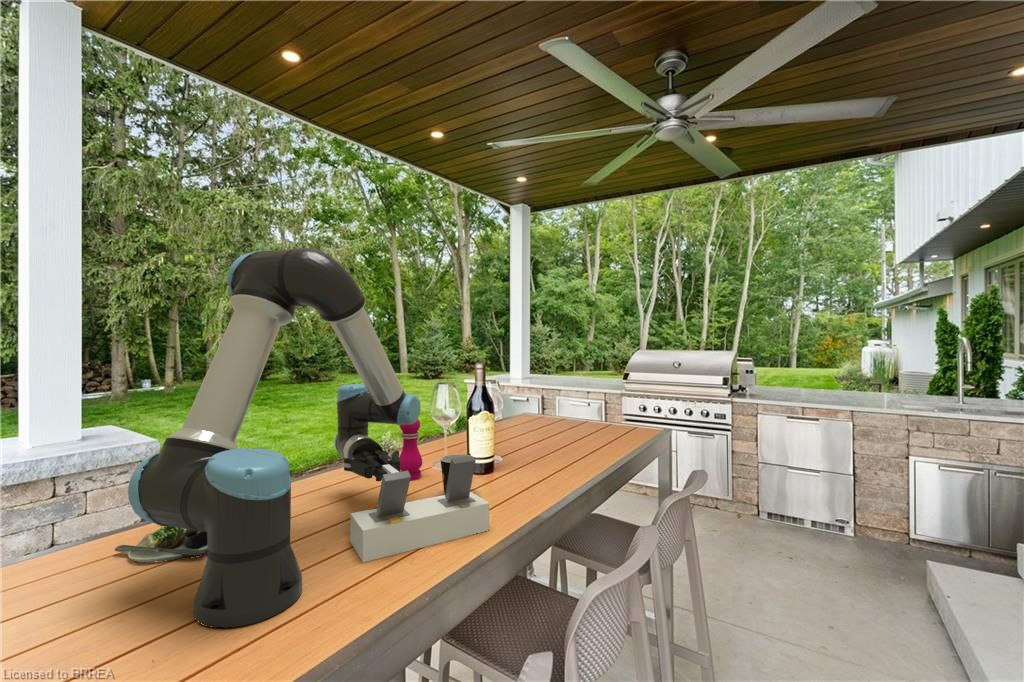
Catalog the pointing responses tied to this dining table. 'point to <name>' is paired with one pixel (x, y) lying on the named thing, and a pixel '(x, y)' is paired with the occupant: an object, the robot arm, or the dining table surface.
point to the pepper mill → (410, 450)
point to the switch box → (417, 525)
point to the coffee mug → (448, 467)
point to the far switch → (460, 478)
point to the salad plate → (167, 545)
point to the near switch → (393, 493)
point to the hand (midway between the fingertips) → (395, 479)
